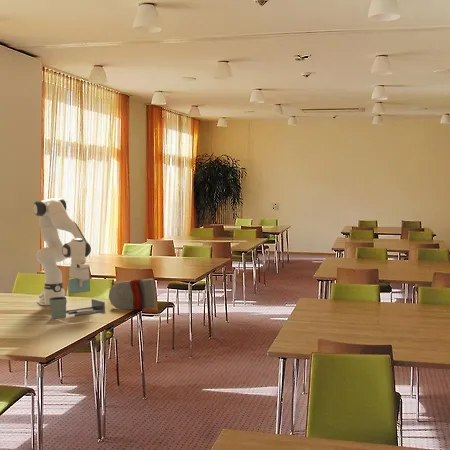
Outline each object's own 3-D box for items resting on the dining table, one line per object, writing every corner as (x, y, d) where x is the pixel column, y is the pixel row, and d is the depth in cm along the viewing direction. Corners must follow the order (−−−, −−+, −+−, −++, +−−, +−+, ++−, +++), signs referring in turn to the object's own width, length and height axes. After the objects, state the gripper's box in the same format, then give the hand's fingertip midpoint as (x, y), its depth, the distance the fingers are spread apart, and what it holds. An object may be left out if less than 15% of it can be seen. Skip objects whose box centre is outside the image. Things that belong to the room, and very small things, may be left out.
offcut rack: (64, 313, 413) (64, 302, 412) (93, 309, 426) (93, 298, 425) (75, 317, 401) (75, 306, 401) (105, 312, 414) (104, 301, 414)
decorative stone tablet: (154, 277, 425) (109, 281, 428) (152, 278, 418) (106, 283, 422) (157, 306, 426) (112, 310, 429) (155, 308, 420) (109, 312, 423)
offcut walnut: (76, 313, 411) (76, 310, 411) (92, 311, 414) (92, 309, 414) (77, 314, 407) (77, 311, 407) (93, 312, 411) (93, 310, 410)
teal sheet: (68, 293, 412) (67, 279, 411) (88, 290, 421) (87, 276, 420) (69, 294, 410) (69, 279, 409) (90, 291, 419) (89, 277, 418)
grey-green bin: (70, 316, 404) (69, 297, 403) (59, 319, 395) (58, 300, 394) (57, 315, 409) (57, 296, 408) (46, 318, 400) (45, 298, 399)
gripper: (66, 262, 420) (66, 284, 421) (81, 266, 404) (82, 288, 405) (75, 262, 424) (75, 283, 425) (90, 265, 408) (91, 287, 409)
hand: (79, 285), depth 415 cm, fingers closed on teal sheet, 2 cm apart
